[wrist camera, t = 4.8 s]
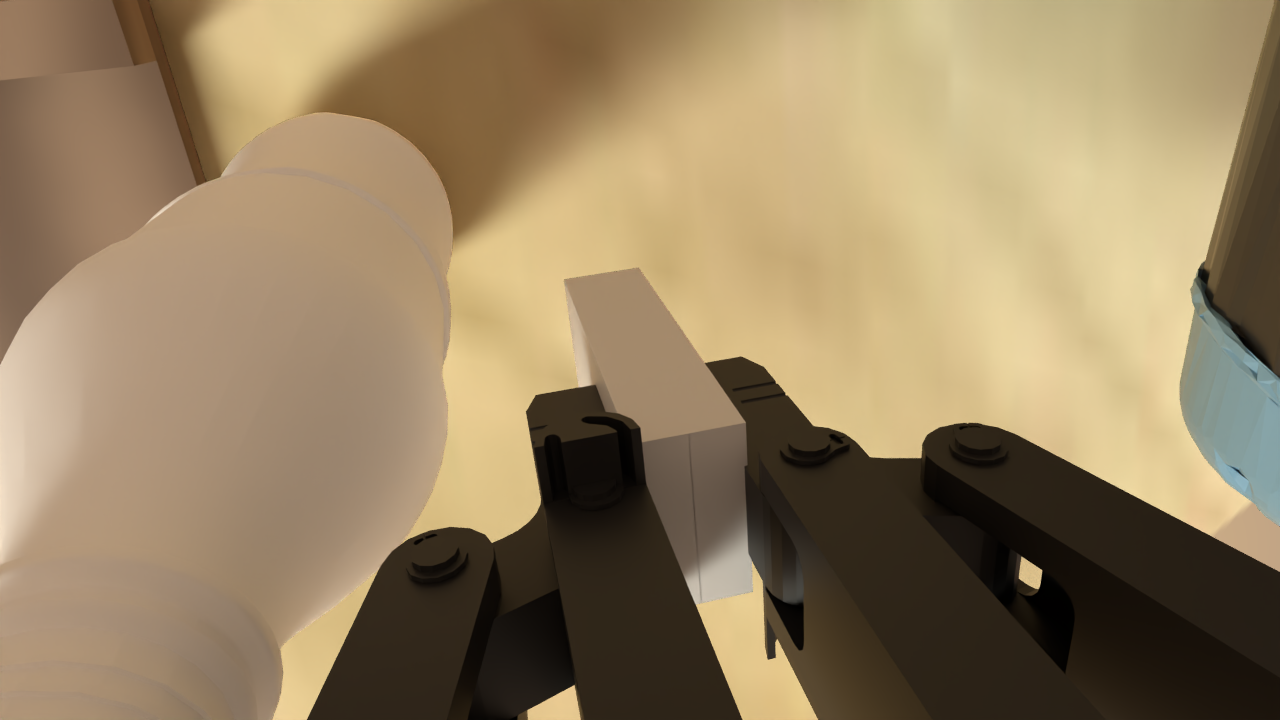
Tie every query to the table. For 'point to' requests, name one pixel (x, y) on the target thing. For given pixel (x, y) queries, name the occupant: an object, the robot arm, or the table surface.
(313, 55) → the table surface
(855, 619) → the robot arm
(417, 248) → the water bottle
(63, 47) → the walnut cradle
